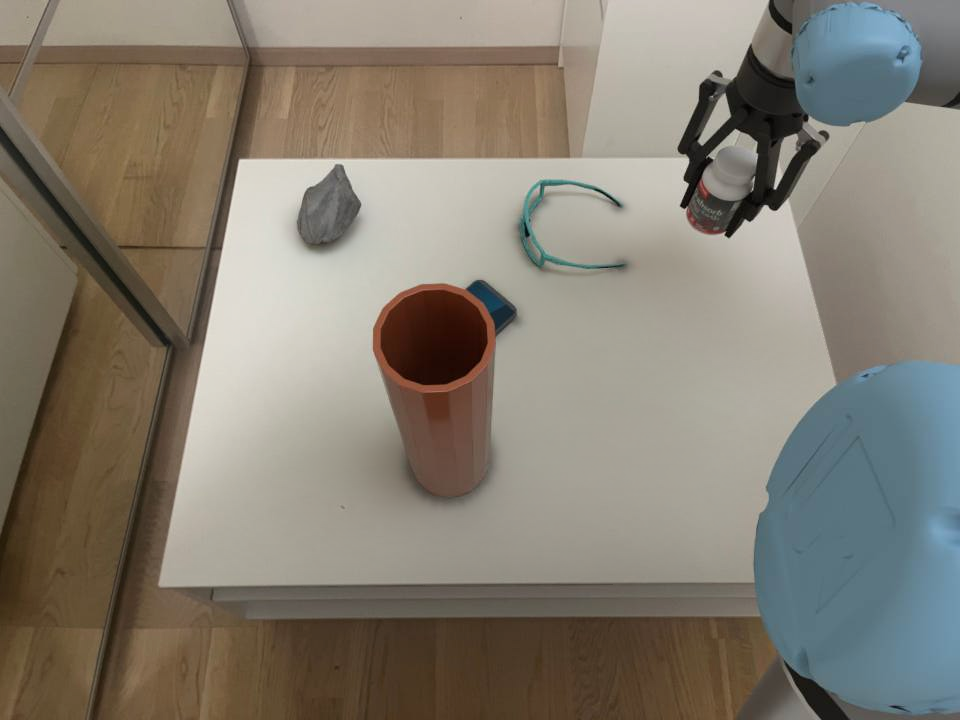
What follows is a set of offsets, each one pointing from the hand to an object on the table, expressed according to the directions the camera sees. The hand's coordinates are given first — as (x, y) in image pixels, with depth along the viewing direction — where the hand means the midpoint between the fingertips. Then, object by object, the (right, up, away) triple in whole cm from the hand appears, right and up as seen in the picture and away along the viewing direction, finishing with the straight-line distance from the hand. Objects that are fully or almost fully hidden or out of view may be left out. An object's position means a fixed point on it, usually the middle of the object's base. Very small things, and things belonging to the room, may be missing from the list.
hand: (710, 215), depth 81 cm
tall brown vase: (-32, -29, -2) cm, 43 cm away
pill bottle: (0, 0, 0) cm, 1 cm away
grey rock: (-49, +2, +13) cm, 50 cm away
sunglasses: (-15, 0, +12) cm, 19 cm away
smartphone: (-31, -14, +5) cm, 34 cm away
